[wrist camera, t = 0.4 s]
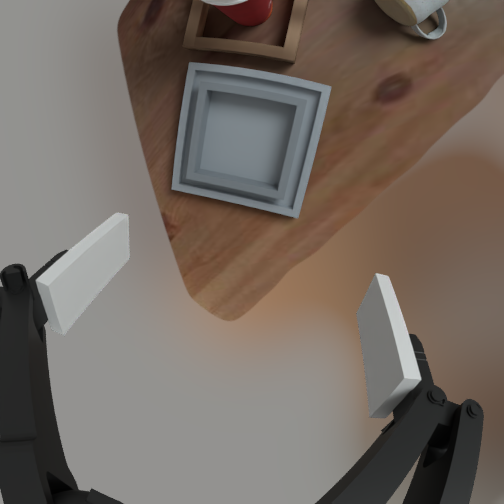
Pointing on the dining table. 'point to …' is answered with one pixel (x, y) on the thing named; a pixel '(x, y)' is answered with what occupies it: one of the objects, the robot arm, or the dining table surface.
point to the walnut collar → (286, 53)
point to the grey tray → (248, 136)
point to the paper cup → (244, 10)
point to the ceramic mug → (415, 13)
